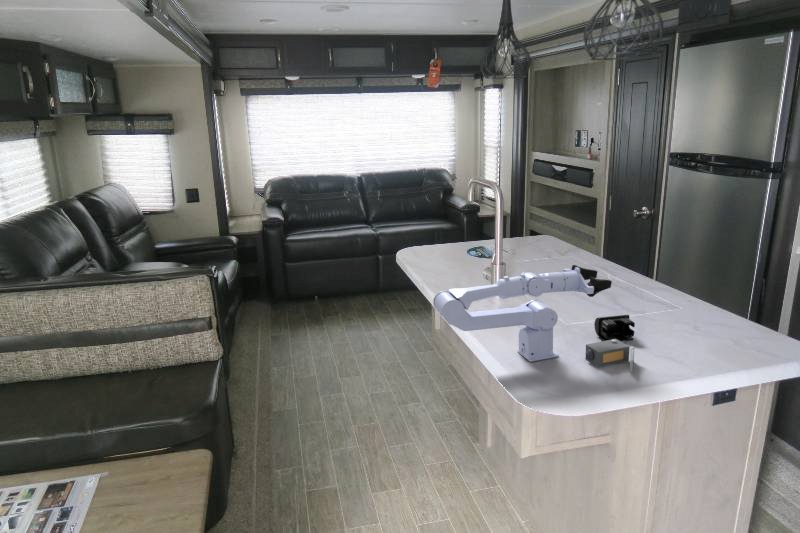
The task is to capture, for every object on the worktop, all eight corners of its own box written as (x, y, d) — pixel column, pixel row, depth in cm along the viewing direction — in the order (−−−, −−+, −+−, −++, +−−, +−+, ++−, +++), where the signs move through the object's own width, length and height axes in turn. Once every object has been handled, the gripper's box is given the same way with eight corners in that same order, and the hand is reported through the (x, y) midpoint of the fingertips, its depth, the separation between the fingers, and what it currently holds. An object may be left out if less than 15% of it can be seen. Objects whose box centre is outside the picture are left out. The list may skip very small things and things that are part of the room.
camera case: (595, 367, 157) (596, 351, 156) (583, 359, 163) (583, 343, 162) (628, 361, 160) (629, 344, 159) (615, 353, 166) (616, 337, 164)
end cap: (623, 331, 181) (624, 311, 179) (635, 340, 174) (636, 319, 172) (593, 334, 180) (594, 314, 178) (604, 343, 173) (605, 322, 171)
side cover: (632, 373, 152) (633, 359, 151) (629, 373, 153) (629, 359, 152) (633, 360, 160) (634, 346, 159) (630, 360, 160) (631, 346, 159)
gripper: (575, 278, 155) (619, 275, 158) (551, 260, 169) (592, 257, 171) (571, 302, 158) (615, 298, 161) (548, 281, 171) (589, 279, 174)
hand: (603, 279), depth 166 cm, fingers open, 7 cm apart
